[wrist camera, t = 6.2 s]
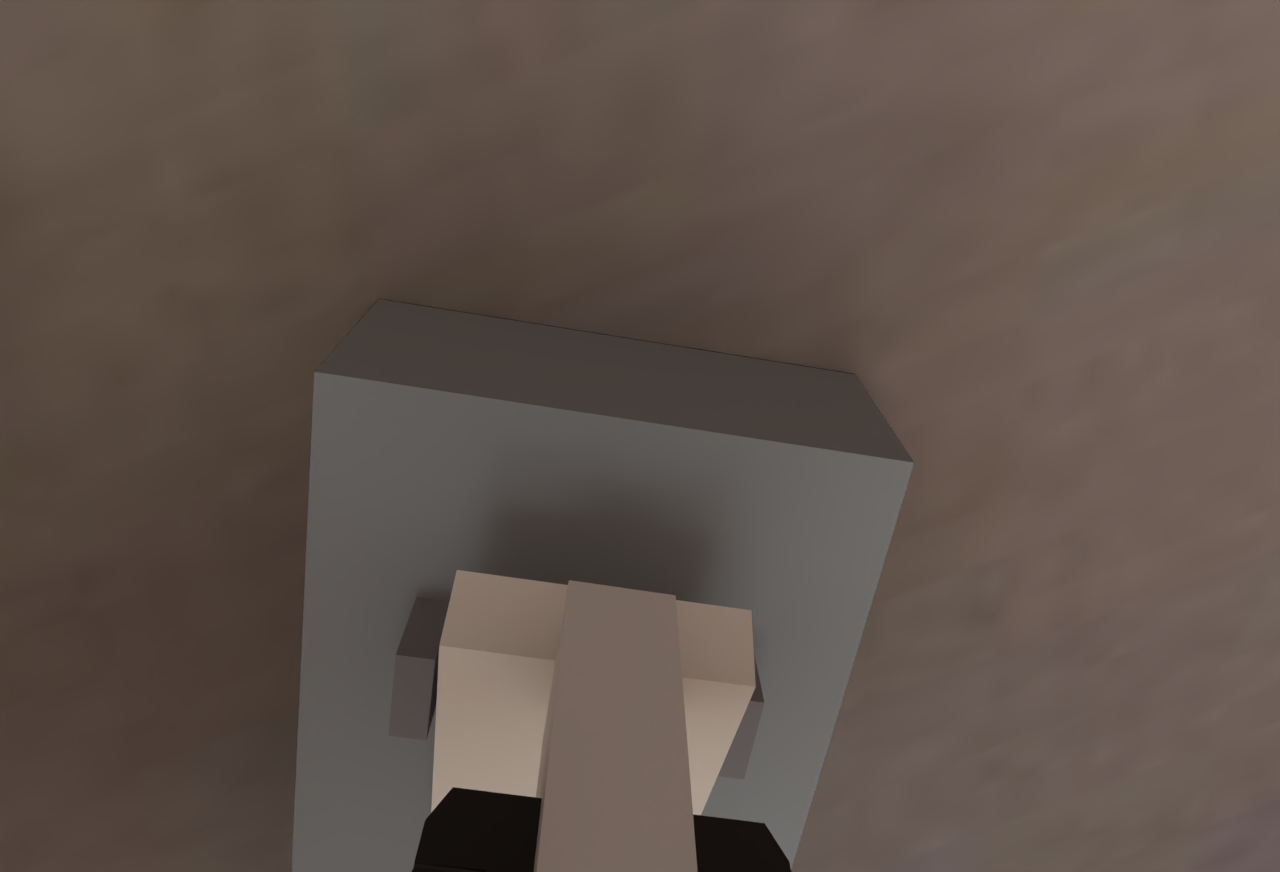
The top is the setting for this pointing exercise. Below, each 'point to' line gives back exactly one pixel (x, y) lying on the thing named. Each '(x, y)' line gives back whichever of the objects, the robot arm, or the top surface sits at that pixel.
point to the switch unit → (572, 541)
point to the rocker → (522, 677)
